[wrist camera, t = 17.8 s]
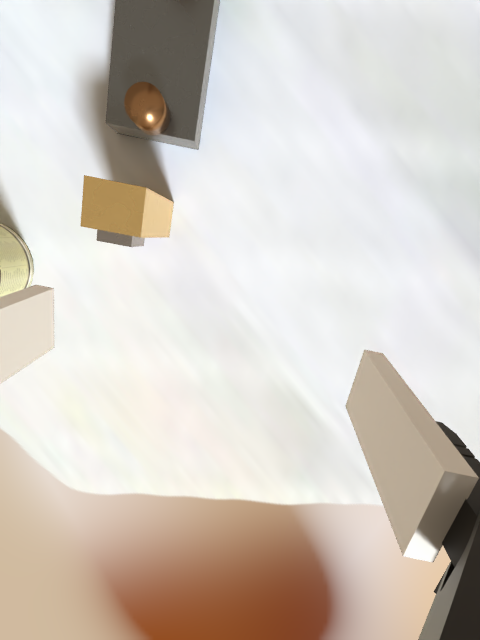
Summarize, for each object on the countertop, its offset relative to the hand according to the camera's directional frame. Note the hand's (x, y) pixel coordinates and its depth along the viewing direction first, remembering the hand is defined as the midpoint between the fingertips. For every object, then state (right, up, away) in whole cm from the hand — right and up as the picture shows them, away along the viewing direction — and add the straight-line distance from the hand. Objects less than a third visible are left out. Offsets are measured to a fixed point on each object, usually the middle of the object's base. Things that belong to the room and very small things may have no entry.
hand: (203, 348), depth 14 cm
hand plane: (-6, +31, +21) cm, 37 cm away
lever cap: (-9, +13, +25) cm, 30 cm away
